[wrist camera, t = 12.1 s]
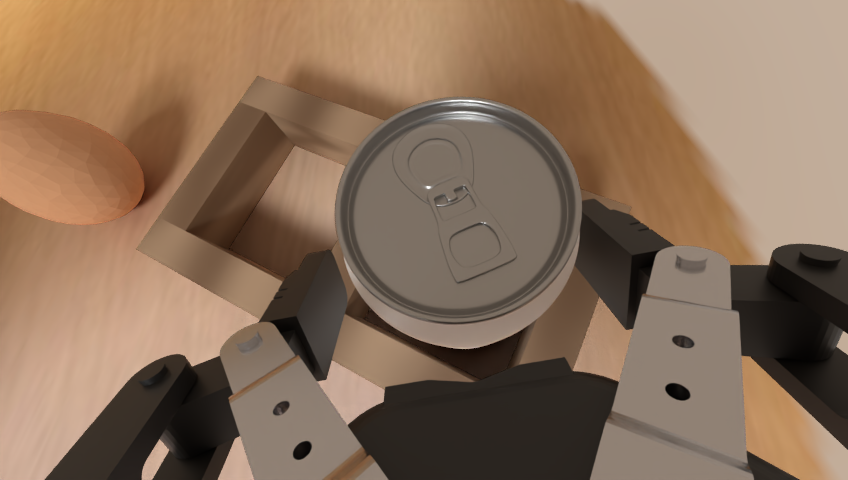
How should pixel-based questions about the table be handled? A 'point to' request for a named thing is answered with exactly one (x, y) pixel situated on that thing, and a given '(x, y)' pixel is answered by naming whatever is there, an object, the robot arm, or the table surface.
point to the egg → (66, 169)
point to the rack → (256, 286)
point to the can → (459, 221)
